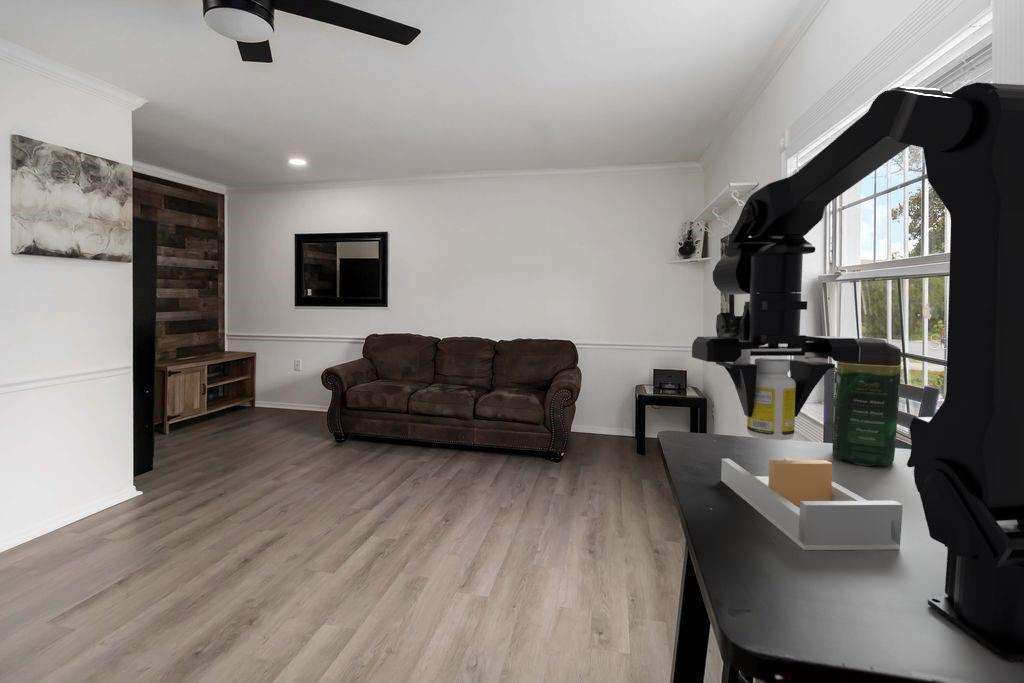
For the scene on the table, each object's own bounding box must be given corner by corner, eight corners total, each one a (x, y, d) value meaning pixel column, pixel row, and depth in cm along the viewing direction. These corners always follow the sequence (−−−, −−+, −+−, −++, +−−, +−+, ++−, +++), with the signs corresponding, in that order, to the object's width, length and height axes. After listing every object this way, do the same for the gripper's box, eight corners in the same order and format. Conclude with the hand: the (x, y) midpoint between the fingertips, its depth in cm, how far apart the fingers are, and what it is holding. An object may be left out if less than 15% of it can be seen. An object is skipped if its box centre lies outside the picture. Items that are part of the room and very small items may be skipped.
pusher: (830, 506, 57) (832, 463, 57) (773, 506, 57) (774, 463, 57) (824, 502, 58) (825, 460, 58) (767, 502, 58) (769, 460, 58)
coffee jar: (897, 472, 71) (905, 341, 69) (831, 462, 75) (837, 339, 74) (892, 454, 79) (899, 337, 77) (833, 446, 83) (838, 335, 81)
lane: (899, 549, 49) (902, 504, 48) (804, 550, 49) (806, 505, 48) (790, 479, 68) (791, 447, 67) (721, 480, 68) (722, 447, 67)
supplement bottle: (785, 431, 66) (788, 357, 65) (800, 442, 61) (804, 362, 60) (741, 429, 67) (744, 356, 66) (752, 440, 62) (755, 361, 61)
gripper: (810, 294, 71) (805, 403, 72) (678, 294, 71) (676, 404, 72) (866, 292, 60) (860, 421, 61) (710, 293, 59) (707, 422, 61)
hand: (770, 416), depth 64 cm, fingers closed on supplement bottle, 5 cm apart
